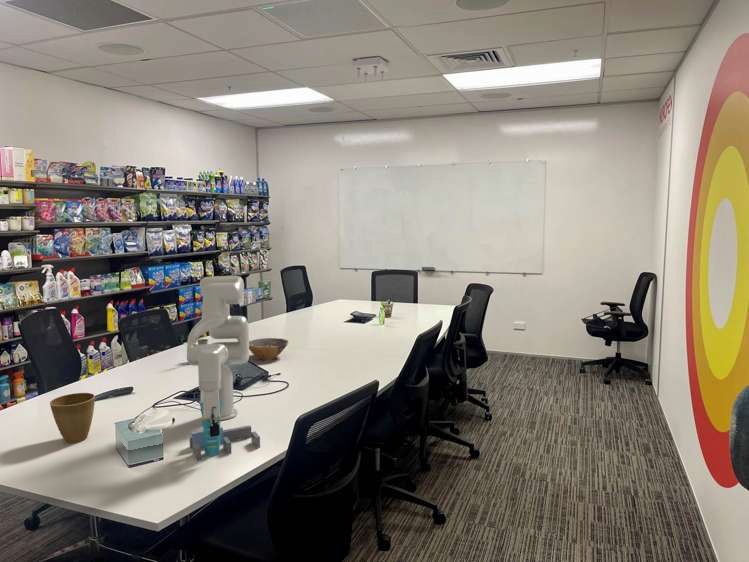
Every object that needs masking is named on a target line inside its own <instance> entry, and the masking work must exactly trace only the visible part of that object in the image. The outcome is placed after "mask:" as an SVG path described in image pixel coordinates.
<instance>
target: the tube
mask: <svg viewBox="0 0 749 562" xmlns="http://www.w3.org/2000/svg"><path fill="white" fill-rule="evenodd" d="M219 403H220V416H219V417H218V419H219V429H220V427H221V420H220V419H221V406H222V400H221V401H219ZM199 407H200V414H201V420H202V428H203V429H202V431H204V444H205V447H204V454H205V456H207V457H213V456H218V455H219V454H220V448H221V446H220V445H221V444H220V435H219V436H214V437H210V419H207V420H206V419H205V418H204V416H203V406H202V403H201V402H199ZM211 417H212V416H211ZM213 420H214V419H212V422H213Z"/></svg>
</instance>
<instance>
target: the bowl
mask: <svg viewBox="0 0 749 562" xmlns="http://www.w3.org/2000/svg"><path fill="white" fill-rule="evenodd" d="M288 344H289V340H287V339H284V338H277V337H266V338H265V337H263V338H256V339H252V340H249V352H251V353H252V354H253V356H254V357H255V358H257V359H259V360H263V361H265V360H266V361H269V360H275V358H278V356H279V355H281V353H282V352H283V351H284V350H285V349H286V347H287V346H288Z"/></svg>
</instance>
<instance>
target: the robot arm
mask: <svg viewBox="0 0 749 562" xmlns="http://www.w3.org/2000/svg"><path fill="white" fill-rule="evenodd" d="M199 288H200V290H201V294H202V307H201V308H202V309H201V319H200V320H199V321H198V322H197V323H196V324H195V325H194V326H193V327H192V328H191V331H190V332H189V334H188V337H187V341H186V344H187V345H186V361H187V363H188V364H189V365H190V366H196V367H197V366H198V367H197V368H198V371H197V372H198V390H199V391H200V403H202V406H203V416H204V418H205V419H206V420H207V419H210V437H214V436H219V435H220V429H219V419H218V417H219V416H220V403H219V401H221V400H222V406H221V419H220V421H224V420H229V419H232V418H233V419H234V418H235V417H236V416H238V409H236V408H235V407H234V378H233V372H232V370H231V369H230V368H229V366H228V365H243V364H247V363H248V361H249V360H250V359H249V358H250V350H249V341H250V334H249V333H250V332H249V331H250V330H249V324H248V323H249V322H248V319H247V318H246V316H244V315H231V314H230V313H231V311H230V310H231V309H230V305H240V303H241V302H242V300H243V296H244V291H245V283H244V279H243V278H242V277H241V276H238V275H231V276H228V275H226V276H223V275H222V276H220V275H219V276H218V275H216V276H215V275H214V276H206V277H203V278H201V279H200V281H199ZM208 332H209V335H210V337H211V338H212V339H213V340H214V339H215V340H231V339H236V340H237V341H219V342H212V343H210V344H208V343H207V344H202V345H198V344H197V340H199V338H200V337H201V336H202V335H204V334H205V333H208ZM211 416H212V417H211ZM212 419H214V420H213V422H212Z"/></svg>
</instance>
